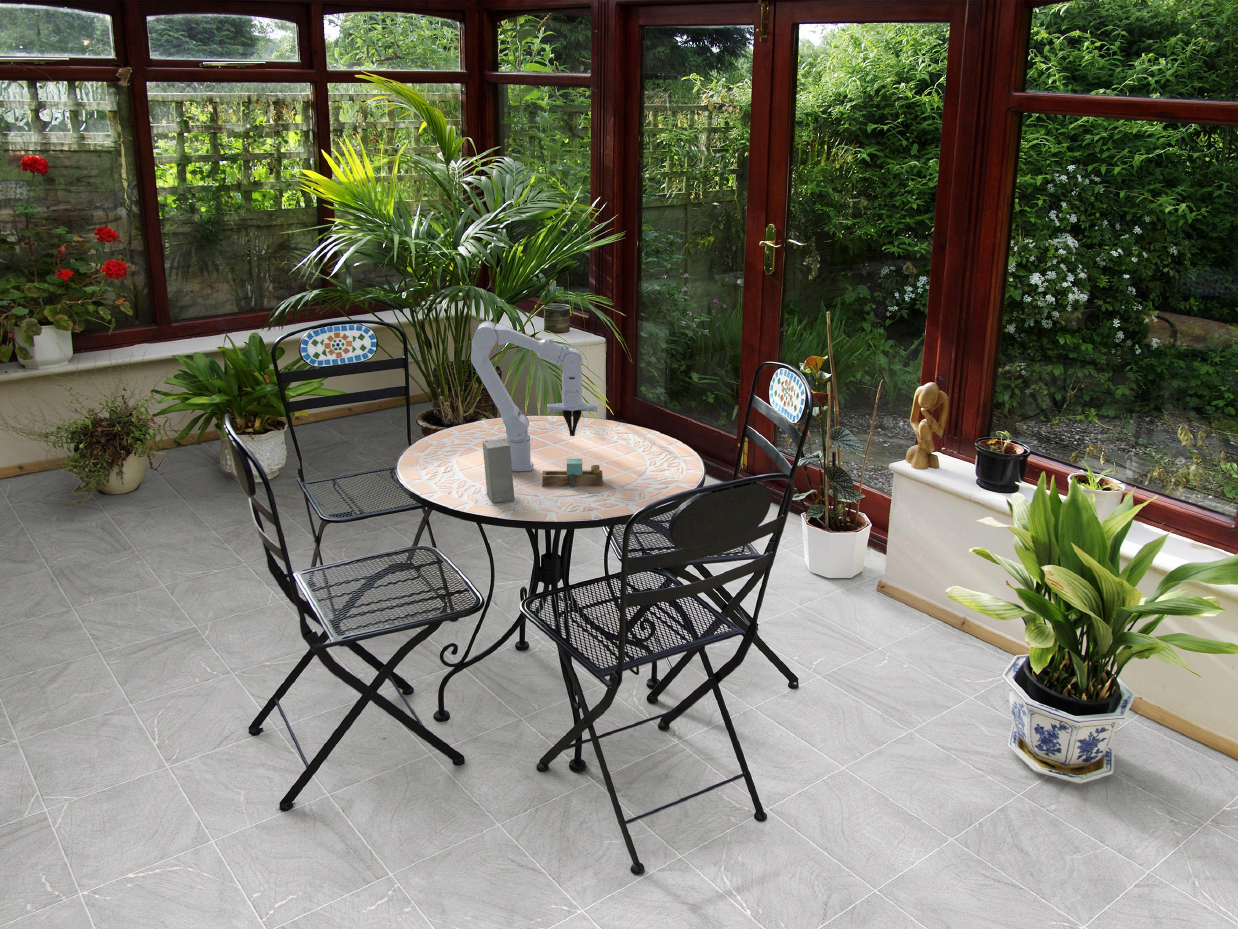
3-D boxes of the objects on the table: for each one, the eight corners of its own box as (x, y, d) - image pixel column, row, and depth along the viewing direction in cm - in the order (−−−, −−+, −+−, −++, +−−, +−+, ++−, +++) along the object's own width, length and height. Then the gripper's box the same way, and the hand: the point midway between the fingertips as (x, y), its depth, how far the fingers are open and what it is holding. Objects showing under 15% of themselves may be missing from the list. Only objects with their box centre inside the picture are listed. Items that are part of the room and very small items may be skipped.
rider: (566, 480, 311) (566, 463, 309) (566, 475, 315) (566, 458, 313) (582, 480, 311) (582, 463, 309) (582, 475, 315) (582, 458, 314)
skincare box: (515, 501, 299) (513, 445, 294) (488, 504, 297) (487, 447, 292) (509, 491, 307) (507, 436, 302) (483, 493, 305) (481, 438, 300)
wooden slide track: (542, 487, 310) (541, 470, 308) (542, 479, 316) (542, 462, 315) (602, 486, 311) (602, 469, 309) (602, 479, 317) (602, 462, 315)
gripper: (546, 393, 316) (547, 439, 320) (597, 393, 316) (597, 439, 321) (547, 387, 322) (547, 432, 327) (596, 387, 323) (596, 432, 327)
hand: (572, 435), depth 324 cm, fingers closed
